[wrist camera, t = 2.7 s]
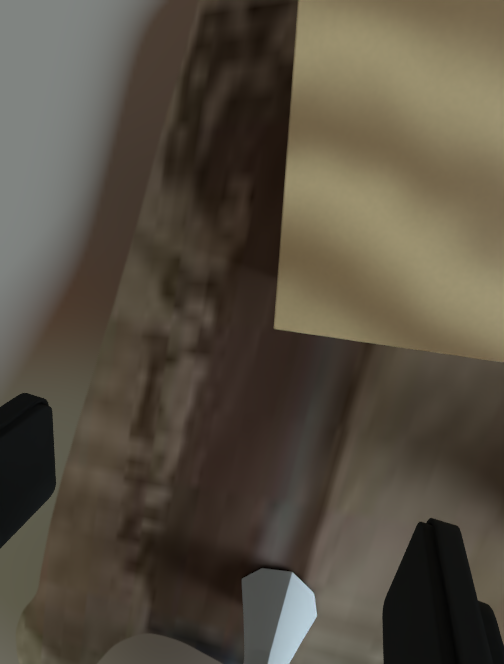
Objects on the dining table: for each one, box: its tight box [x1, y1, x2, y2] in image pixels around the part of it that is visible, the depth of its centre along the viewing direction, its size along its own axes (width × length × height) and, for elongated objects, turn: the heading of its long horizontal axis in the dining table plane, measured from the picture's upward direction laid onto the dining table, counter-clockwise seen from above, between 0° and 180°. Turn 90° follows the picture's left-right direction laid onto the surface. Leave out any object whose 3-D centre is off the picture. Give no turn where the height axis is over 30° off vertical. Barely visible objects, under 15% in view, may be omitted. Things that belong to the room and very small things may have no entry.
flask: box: [242, 568, 317, 664], centre depth 35 cm, size 7×7×10 cm
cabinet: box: [274, 0, 504, 362], centre depth 20 cm, size 16×15×9 cm
